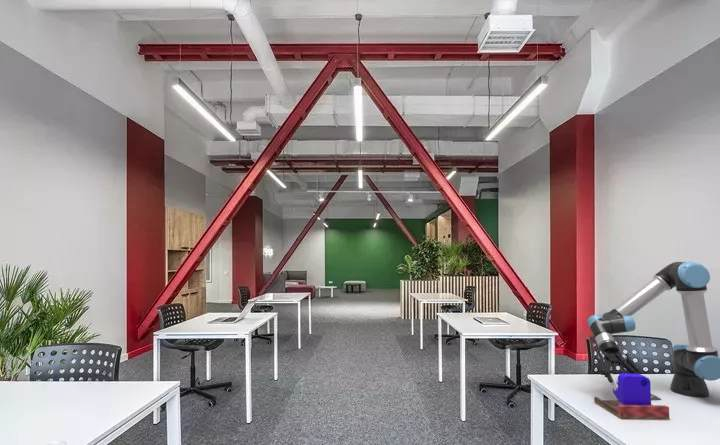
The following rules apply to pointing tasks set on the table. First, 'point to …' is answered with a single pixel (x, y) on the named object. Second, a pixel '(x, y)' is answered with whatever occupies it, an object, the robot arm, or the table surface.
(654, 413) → the walnut stop track
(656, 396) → the keychain
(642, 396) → the bracket
